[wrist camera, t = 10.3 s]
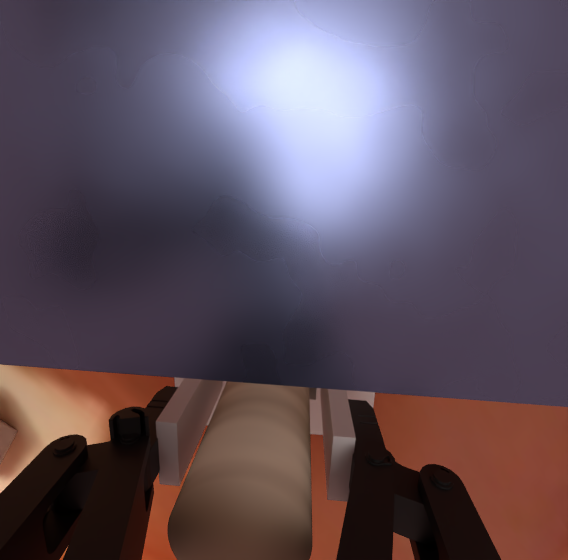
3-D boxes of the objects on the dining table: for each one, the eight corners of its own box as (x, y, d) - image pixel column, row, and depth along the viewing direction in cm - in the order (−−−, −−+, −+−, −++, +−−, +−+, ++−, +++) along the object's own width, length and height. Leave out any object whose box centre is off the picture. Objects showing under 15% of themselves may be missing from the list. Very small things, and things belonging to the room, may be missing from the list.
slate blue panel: (178, 247, 22) (-93, 357, 7) (171, 79, 20) (-272, -303, 5) (390, 258, 21) (590, 408, 6) (412, 85, 19) (831, -345, 4)
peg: (250, 303, 22) (164, 473, 9) (310, 307, 22) (317, 487, 8) (249, 357, 23) (170, 585, 10) (306, 361, 23) (307, 600, 9)
